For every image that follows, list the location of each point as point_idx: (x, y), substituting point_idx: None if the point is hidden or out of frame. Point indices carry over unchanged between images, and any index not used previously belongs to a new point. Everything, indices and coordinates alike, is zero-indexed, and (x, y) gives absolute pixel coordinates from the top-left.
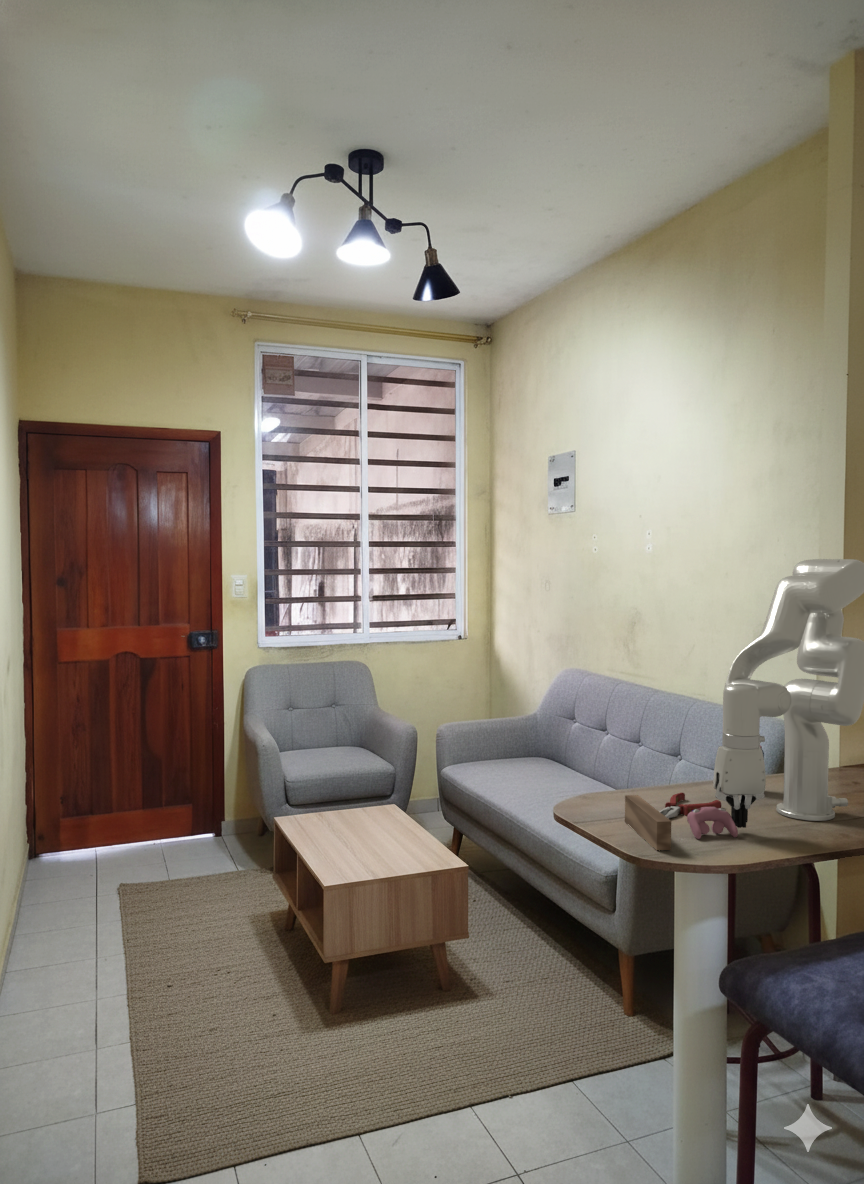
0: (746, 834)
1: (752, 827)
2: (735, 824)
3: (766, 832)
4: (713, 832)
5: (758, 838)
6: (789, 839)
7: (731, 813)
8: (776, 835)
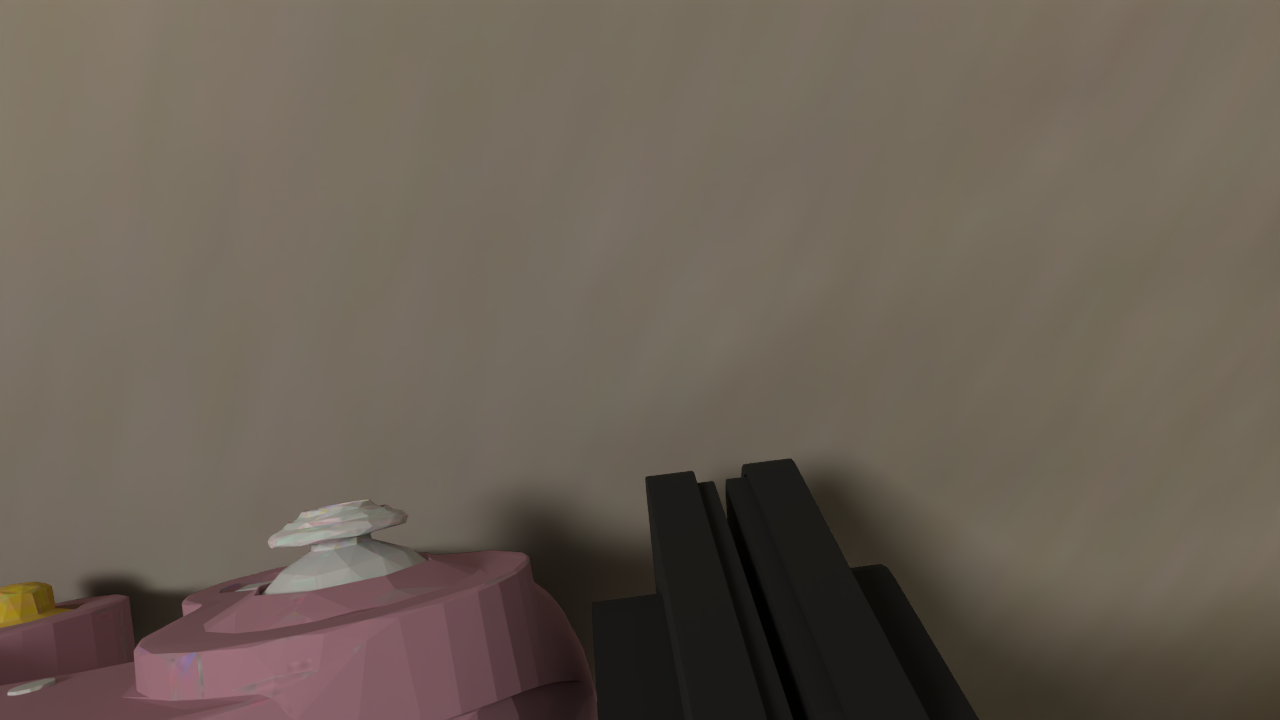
0: None
1: (1096, 167)
2: (656, 589)
3: (1157, 429)
4: (248, 576)
5: None
6: (1261, 686)
7: (599, 717)
8: (1209, 551)
